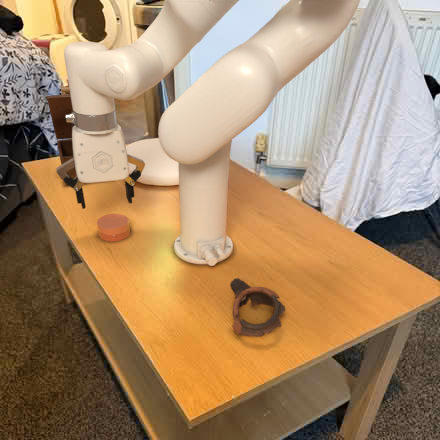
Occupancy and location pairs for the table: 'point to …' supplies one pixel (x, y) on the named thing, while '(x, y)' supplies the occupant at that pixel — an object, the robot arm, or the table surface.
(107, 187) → the table surface
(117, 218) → the orange short cylinder
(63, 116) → the lid
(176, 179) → the plate
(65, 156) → the chest
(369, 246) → the table surface
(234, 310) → the pottery mug
